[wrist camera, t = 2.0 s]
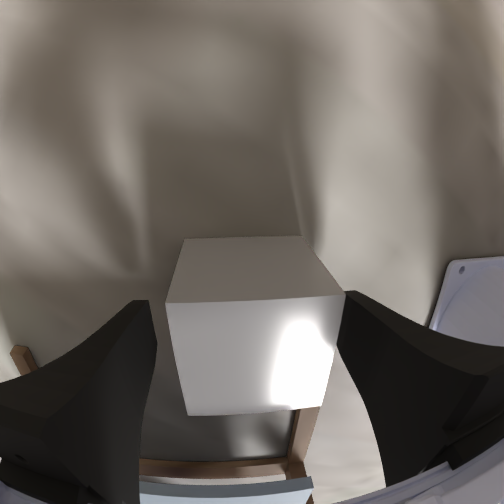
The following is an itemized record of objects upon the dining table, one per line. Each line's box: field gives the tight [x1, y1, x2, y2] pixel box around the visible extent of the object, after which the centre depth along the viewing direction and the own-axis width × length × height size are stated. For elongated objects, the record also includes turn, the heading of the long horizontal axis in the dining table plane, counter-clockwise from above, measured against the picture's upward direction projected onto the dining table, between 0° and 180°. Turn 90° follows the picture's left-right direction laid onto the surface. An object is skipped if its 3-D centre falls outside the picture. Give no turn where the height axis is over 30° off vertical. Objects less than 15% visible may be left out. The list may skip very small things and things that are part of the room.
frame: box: [10, 345, 320, 504], centre depth 13 cm, size 19×14×8 cm
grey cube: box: [165, 236, 346, 416], centre depth 11 cm, size 5×5×5 cm
